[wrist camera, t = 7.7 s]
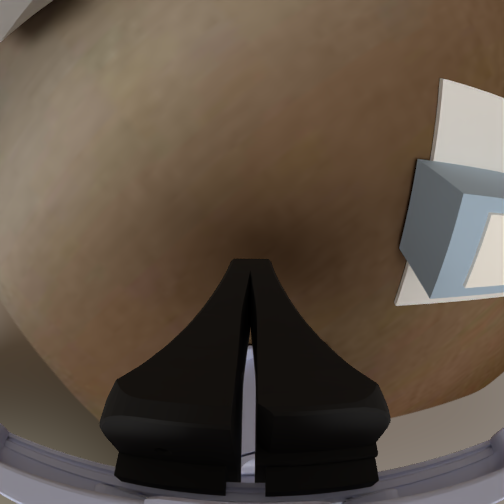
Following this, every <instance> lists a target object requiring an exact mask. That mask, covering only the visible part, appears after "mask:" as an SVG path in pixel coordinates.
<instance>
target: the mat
mask: <svg viewBox="0 0 504 504" xmlns="http://www.w3.org/2000/svg"><path fill="white" fill-rule="evenodd" d="M430 161H437V162H444V163H451V164H458V165H464V166H470V167H476V168H481V169H487V170H492V171H497V172H502V173H504V98H502V97H499V96H497V95H494V94H491V93H488V92H485V91H482V90H479V89H476V88H473V87H470V86H467V85H464V84H460V83H457V82H453V81H450V80H446V79H442V78H440V81H439V94H438V105H437V114H436V123H435V130H434V138H433V144H432V151H431V157H430ZM503 296H504V292H503V293H493V294H483V295H472V296H460V297H448V298H434V299H430V298H429V297H428V295H427V293H426V291H425V290H424V288H423V286H422V285H421V283H420V281H419V280H418V278H417V276H416V275H415V273H414V271H413V270H412V268H411V266H410V265H409V263H408V262H407V263H406V266H405V269H404V273H403V276H402V279H401V282H400V286H399V289H398V292H397V295H396V298H395V301H394V303H395V305H396V306H401V305H416V304H430V303H443V302H454V301H465V300H475V299H485V298H494V297H503Z"/></svg>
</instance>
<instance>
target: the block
mask: <svg viewBox="0 0 504 504" xmlns="http://www.w3.org/2000/svg"><path fill="white" fill-rule="evenodd" d="M399 249H400V251H401V252H402V254H403V255H404V257H405V258H406V260H407V262H408V263H409V265H410V266H411V268H412V270H413V271H414V273H415V275H416V276H417V278H418V280H419V281H420V283H421V285H422V286H423V288H424V290H425V291H426V293H427V295H428V297H429V298H430V299H434V298H448V297H460V296H472V295H483V294H493V293H503V292H504V173H502V172H497V171H492V170H487V169H481V168H476V167H470V166H464V165H458V164H451V163H444V162H437V161H430V160H422V159H418V160H417V166H416V172H415V177H414V183H413V188H412V193H411V198H410V203H409V208H408V213H407V217H406V222H405V226H404V230H403V234H402V239H401V243H400V247H399Z"/></svg>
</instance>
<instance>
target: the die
mask: <svg viewBox="0 0 504 504" xmlns="http://www.w3.org/2000/svg"><path fill="white" fill-rule="evenodd" d="M52 1H53V0H0V42H2V41H3V40H4V39H5V38H6V37H7V36H8V35H9V34H11V33H12V32H13V31H14V30H15V29H16V28H18V27H19V26H20V25H21V24H23V23H24V22H25V21H26V20H28V19H29V18H30V17H31V16H33V15H34V14H35V13H37V12H38V11H39V10H41V9H42V8H43V7H45V6H46V5H47V4H49V3H50V2H52Z"/></svg>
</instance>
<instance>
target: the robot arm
mask: <svg viewBox="0 0 504 504" xmlns="http://www.w3.org/2000/svg"><path fill="white" fill-rule="evenodd" d="M250 327H251V337H252V346H248V343H249V335H250ZM389 423H390V413H389V409H388V406H387V403H386V401H385V399H384V396H383V394H382V392H381V390H380V387H379V385H378V384H377V383H376V382H374V381H373V380H371V379H370V378H368V377H366V376H365V375H363V374H362V373H360V372H359V371H357V370H356V369H354V368H353V367H352V366H350V365H349V364H348V363H347V362H345V361H344V360H343V359H342V358H341V357H340V356H338V355H337V354H336V353H335V352H334V351H333V350H332V349H331V348H330V347H329V346H328V345H326V344H325V343H324V342H323V341H322V340H321V339H320V337H319V336H318V335H317V334H316V333H315V332H314V331H313V330H312V329H311V327H310V326H309V325H308V324H307V323H306V322H305V320H304V319H303V318H302V316H301V315H300V314H299V312H298V311H297V309H296V308H295V307H294V305H293V304H292V302H291V301H290V299H289V298H288V296H287V294H286V292H285V291H284V289H283V287H282V286H281V284H280V282H279V280H278V278H277V276H276V274H275V271H274V269H273V266H272V263H271V261H270V260H269V259H233V260H232V261H231V262H230V265H229V267H228V269H227V271H226V273H225V275H224V277H223V279H222V280H221V282H220V284H219V285H218V287H217V288H216V290H215V291H214V293H213V294H212V296H211V297H210V299H209V300H208V301H207V303H206V304H205V305H204V307H203V308H202V309H201V311H200V312H199V313H198V314H197V315H196V317H195V318H194V319H193V320H192V321H191V322H190V323H189V324H188V326H187V327H186V328H185V329H184V330H183V331H182V332H181V333H180V334H179V335H177V336H176V337H175V338H174V339H173V340H172V341H171V342H170V343H169V344H168V345H167V346H165V347H164V348H163V349H162V350H160V351H159V352H158V353H156V354H155V355H154V356H153V357H151V358H150V359H149V360H147V361H146V362H145V363H143V364H142V365H140V366H139V367H137V368H135V369H134V370H132V371H131V372H129V373H127V374H126V375H124V376H122V377H121V378H119V379H117V380H116V381H115V383H114V385H113V388H112V390H111V391H110V394H109V396H108V398H107V400H106V404H105V407H104V410H103V413H102V416H101V419H100V428H101V430H102V432H103V433H104V435H105V436H106V437H107V439H108V440H109V441H110V442H111V443H112V444H113V445H114V446H115V448H116V449H117V450H118V451H119V454H118V459H117V463H116V467H114V466H110V465H106V464H102V463H98V462H94V461H90V460H86V459H83V458H80V457H76V456H73V455H70V454H66V453H63V452H60V451H57V450H54V449H51V448H48V447H46V446H43V445H40V444H37V443H35V442H32V441H30V440H27V439H25V438H22V437H20V436H17V435H15V434H12V433H10V432H8V430H7V429H6V428H5V427H4V426H3V425H2V424H1V423H0V494H1V495H3V496H5V497H7V498H8V499H10V500H12V501H14V502H16V503H18V504H496V503H498V502H499V501H501V500H503V499H504V428H502V429H501V430H499V431H498V432H497V433H496V434H494V435H493V436H492V437H491V439H490V440H488V441H485V442H483V443H480V444H478V445H475V446H472V447H469V448H466V449H464V450H461V451H458V452H455V453H452V454H448V455H445V456H442V457H439V458H435V459H431V460H428V461H424V462H420V463H416V464H413V465H409V466H404V467H400V468H395V469H390V470H386V471H381V472H378V471H377V466H376V460H375V457H377V455H378V451H377V445H376V441H377V440H378V439H379V438H380V436H381V435H382V434H383V433H384V431H385V430H386V429H387V427H388V425H389ZM146 497H148V498H146Z"/></svg>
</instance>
